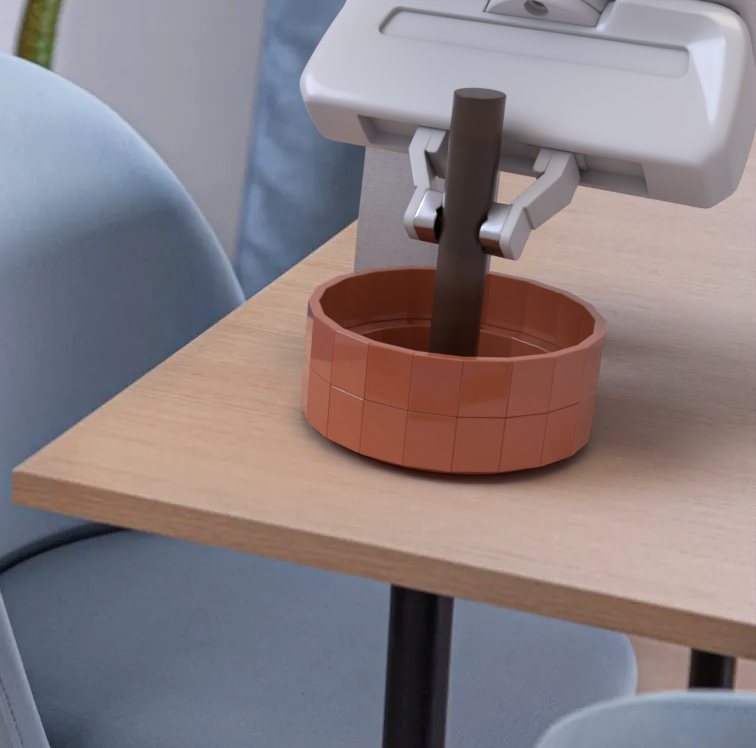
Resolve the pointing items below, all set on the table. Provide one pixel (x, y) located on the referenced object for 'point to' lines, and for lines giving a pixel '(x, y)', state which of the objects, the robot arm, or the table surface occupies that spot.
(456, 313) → the rod
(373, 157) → the grey rectangular block
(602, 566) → the table surface
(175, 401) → the table surface
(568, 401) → the bowl
